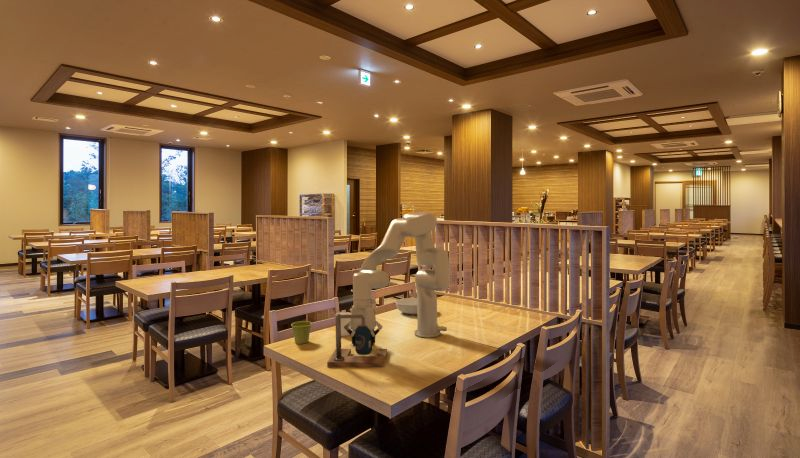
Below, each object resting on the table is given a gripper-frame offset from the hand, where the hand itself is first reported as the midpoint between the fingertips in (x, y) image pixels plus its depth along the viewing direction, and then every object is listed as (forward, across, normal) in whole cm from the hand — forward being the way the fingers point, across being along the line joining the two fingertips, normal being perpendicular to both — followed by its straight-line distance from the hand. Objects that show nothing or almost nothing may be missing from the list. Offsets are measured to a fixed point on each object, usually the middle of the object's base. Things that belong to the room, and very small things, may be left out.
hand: (363, 344), depth 179 cm
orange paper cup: (+5, +15, -32) cm, 36 cm away
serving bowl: (+6, -18, -75) cm, 78 cm away
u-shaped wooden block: (+5, +2, +4) cm, 6 cm away
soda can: (+4, 0, 0) cm, 4 cm away
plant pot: (+5, +32, -19) cm, 37 cm away
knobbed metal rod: (+3, +4, +9) cm, 10 cm away
